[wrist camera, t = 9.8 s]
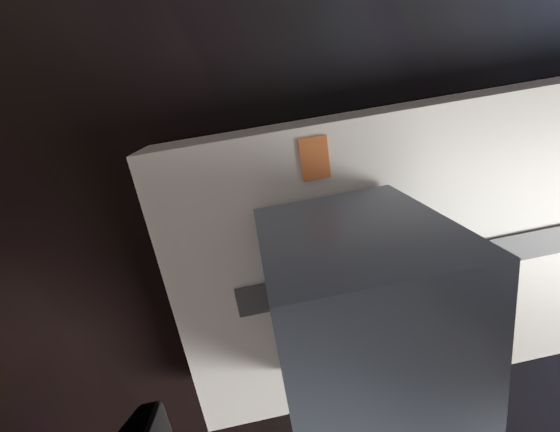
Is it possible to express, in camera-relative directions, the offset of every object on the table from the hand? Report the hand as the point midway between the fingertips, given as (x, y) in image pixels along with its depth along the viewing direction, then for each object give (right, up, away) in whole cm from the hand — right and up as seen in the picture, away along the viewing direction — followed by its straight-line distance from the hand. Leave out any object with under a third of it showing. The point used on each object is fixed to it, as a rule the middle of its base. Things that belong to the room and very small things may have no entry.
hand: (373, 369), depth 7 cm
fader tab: (0, +1, +4) cm, 4 cm away
